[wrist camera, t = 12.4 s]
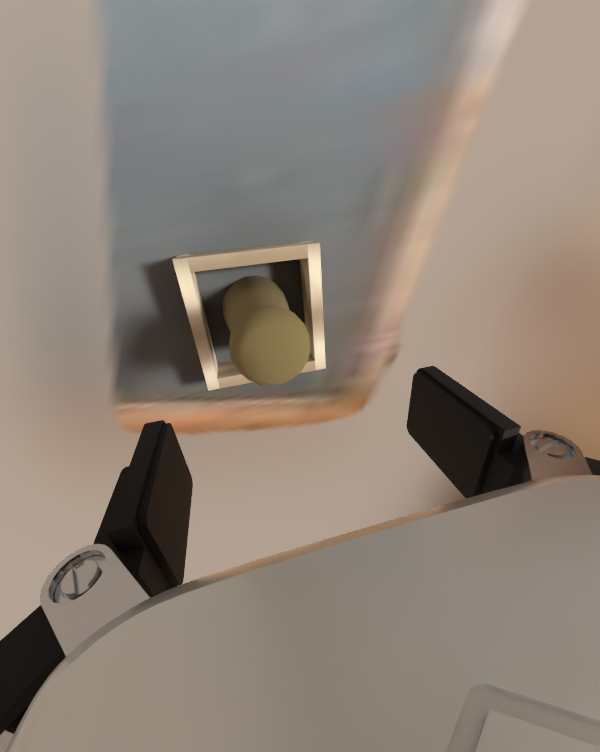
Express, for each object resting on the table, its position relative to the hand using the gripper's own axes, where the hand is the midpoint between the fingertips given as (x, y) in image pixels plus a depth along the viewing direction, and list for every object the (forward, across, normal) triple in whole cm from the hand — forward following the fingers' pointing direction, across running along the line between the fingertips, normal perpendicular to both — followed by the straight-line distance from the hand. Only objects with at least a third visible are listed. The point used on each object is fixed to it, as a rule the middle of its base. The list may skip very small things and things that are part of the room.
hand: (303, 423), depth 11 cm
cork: (+18, 0, +1) cm, 18 cm away
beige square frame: (+18, 0, +1) cm, 18 cm away
